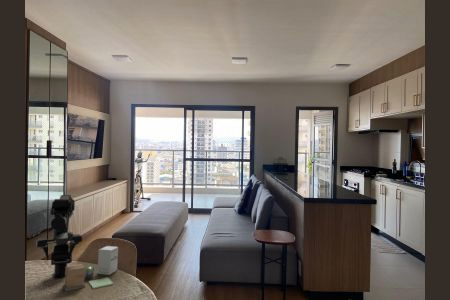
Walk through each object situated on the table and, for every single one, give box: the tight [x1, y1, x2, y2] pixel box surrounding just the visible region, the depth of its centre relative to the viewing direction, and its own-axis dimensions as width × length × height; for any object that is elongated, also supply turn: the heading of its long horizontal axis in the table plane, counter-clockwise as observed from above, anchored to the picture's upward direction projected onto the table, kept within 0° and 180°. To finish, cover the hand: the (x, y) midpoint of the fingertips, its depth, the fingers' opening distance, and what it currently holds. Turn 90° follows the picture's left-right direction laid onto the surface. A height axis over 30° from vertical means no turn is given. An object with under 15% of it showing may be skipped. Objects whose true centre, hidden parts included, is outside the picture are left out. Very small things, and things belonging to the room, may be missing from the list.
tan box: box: [62, 263, 86, 292], centre depth 137 cm, size 7×8×9 cm
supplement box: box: [97, 245, 119, 276], centre depth 157 cm, size 7×7×13 cm
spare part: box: [84, 265, 95, 280], centre depth 149 cm, size 5×5×5 cm
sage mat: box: [88, 277, 114, 290], centre depth 141 cm, size 9×9×1 cm
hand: (58, 258), depth 140 cm, fingers open, 9 cm apart
